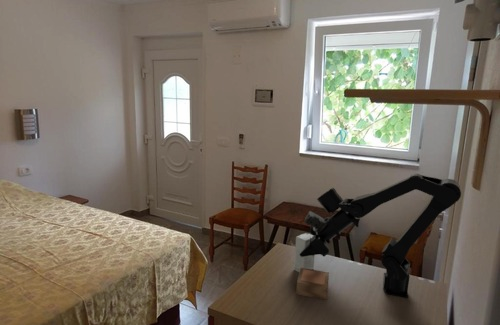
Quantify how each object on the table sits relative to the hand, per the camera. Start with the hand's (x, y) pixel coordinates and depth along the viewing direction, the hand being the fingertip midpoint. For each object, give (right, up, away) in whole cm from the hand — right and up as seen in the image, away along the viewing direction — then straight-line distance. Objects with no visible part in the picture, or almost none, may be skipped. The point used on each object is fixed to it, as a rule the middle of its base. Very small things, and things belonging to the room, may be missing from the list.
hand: (300, 250), depth 114 cm
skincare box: (+1, -7, +1) cm, 7 cm away
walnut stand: (+2, -9, -11) cm, 14 cm away
